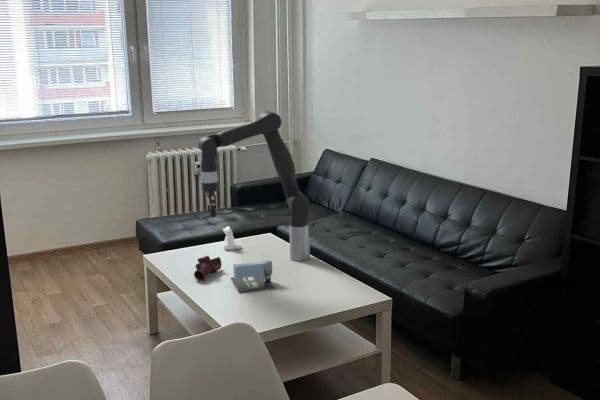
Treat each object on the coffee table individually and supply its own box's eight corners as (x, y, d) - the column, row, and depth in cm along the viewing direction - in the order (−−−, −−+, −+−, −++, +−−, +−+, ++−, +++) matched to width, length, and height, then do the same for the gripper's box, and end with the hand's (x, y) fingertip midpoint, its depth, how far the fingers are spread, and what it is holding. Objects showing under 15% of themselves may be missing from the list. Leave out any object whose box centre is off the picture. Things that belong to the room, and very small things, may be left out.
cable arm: (270, 271, 313) (270, 259, 312) (273, 274, 309) (273, 263, 308) (233, 275, 309) (233, 264, 307) (236, 279, 304) (235, 267, 303)
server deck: (266, 275, 320) (265, 267, 319) (276, 288, 304) (275, 280, 303) (231, 279, 316) (230, 271, 315) (239, 293, 299) (238, 285, 298)
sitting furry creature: (243, 248, 361) (242, 226, 358) (231, 252, 355) (230, 229, 352) (230, 245, 367) (229, 223, 364) (218, 248, 361) (217, 226, 358)
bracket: (225, 264, 328) (215, 246, 326) (209, 283, 314) (199, 264, 311) (215, 267, 331) (205, 249, 329) (199, 286, 317) (189, 268, 314)
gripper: (220, 182, 312) (222, 217, 316) (215, 176, 325) (217, 210, 329) (203, 184, 310) (206, 219, 314) (199, 178, 323) (201, 211, 327)
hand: (211, 214), depth 321 cm, fingers open, 8 cm apart
